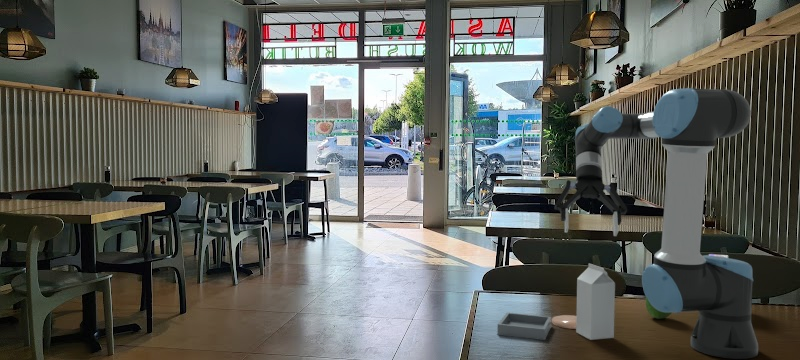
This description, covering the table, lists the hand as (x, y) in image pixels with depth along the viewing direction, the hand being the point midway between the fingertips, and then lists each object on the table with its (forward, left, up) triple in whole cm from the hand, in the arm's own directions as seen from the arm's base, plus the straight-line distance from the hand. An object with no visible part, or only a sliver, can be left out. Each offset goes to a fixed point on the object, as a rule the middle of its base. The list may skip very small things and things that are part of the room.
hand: (591, 232), depth 180 cm
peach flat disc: (+3, +4, -26) cm, 27 cm away
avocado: (-9, -21, -27) cm, 35 cm away
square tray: (+6, +20, -26) cm, 34 cm away
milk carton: (-8, +8, -27) cm, 29 cm away
